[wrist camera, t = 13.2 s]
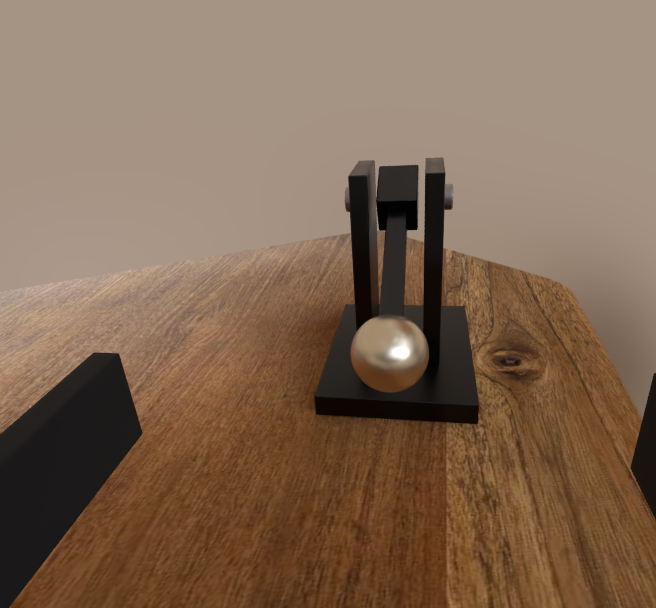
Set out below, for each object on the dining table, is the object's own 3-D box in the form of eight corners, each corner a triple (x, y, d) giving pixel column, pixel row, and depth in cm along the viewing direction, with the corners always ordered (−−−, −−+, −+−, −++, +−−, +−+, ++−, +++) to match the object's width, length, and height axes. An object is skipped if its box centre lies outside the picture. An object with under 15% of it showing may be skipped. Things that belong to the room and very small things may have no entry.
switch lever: (428, 407, 23) (429, 372, 20) (351, 402, 24) (342, 369, 21) (430, 202, 30) (431, 155, 27) (371, 203, 31) (366, 158, 28)
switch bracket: (477, 424, 27) (495, 188, 21) (316, 414, 29) (293, 194, 23) (464, 321, 38) (473, 145, 32) (346, 318, 39) (336, 151, 34)
